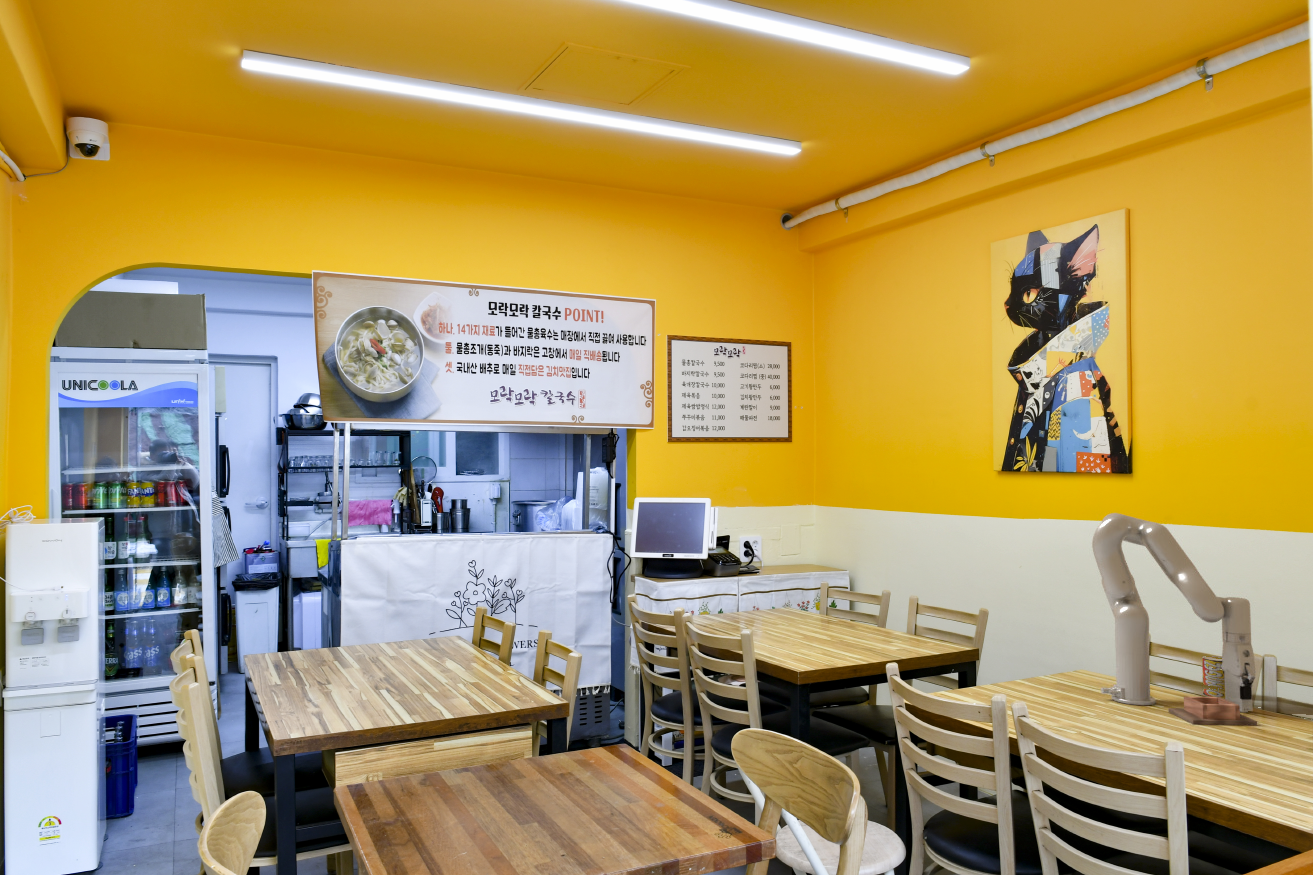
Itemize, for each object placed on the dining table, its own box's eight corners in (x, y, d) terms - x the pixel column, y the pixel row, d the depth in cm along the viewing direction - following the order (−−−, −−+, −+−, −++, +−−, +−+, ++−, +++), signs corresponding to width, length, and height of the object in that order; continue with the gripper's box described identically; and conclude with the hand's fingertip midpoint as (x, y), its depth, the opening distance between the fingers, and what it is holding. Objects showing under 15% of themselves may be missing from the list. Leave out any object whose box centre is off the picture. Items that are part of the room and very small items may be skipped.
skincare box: (1253, 711, 277) (1251, 672, 277) (1242, 712, 275) (1241, 672, 276) (1235, 707, 282) (1234, 668, 283) (1224, 708, 281) (1223, 669, 282)
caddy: (1193, 724, 262) (1192, 706, 262) (1168, 712, 276) (1168, 694, 276) (1257, 725, 261) (1256, 707, 261) (1229, 712, 275) (1228, 695, 275)
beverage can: (1201, 690, 305) (1200, 654, 305) (1232, 693, 301) (1231, 657, 301) (1204, 696, 296) (1203, 659, 297) (1237, 699, 293) (1236, 661, 293)
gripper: (1266, 643, 271) (1268, 703, 270) (1233, 633, 288) (1234, 689, 288) (1240, 642, 272) (1242, 702, 271) (1208, 633, 289) (1210, 689, 288)
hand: (1238, 695), depth 279 cm, fingers closed on skincare box, 7 cm apart
